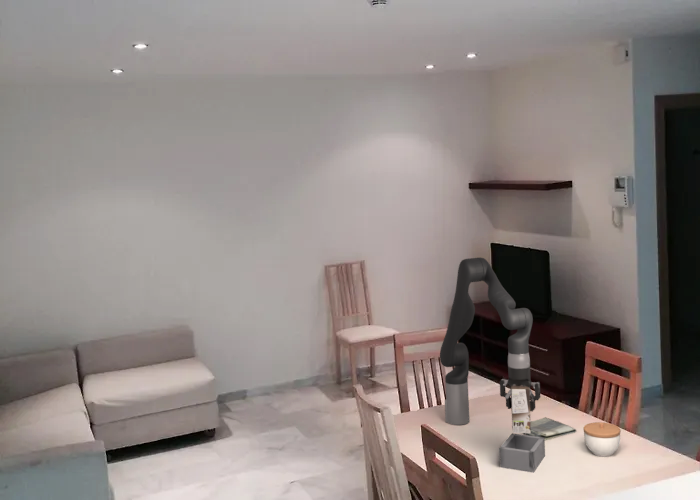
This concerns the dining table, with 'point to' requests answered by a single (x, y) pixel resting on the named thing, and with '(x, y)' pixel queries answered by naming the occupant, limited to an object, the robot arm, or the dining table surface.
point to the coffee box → (520, 409)
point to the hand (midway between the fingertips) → (520, 409)
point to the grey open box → (522, 452)
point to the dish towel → (549, 428)
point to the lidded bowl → (602, 438)
